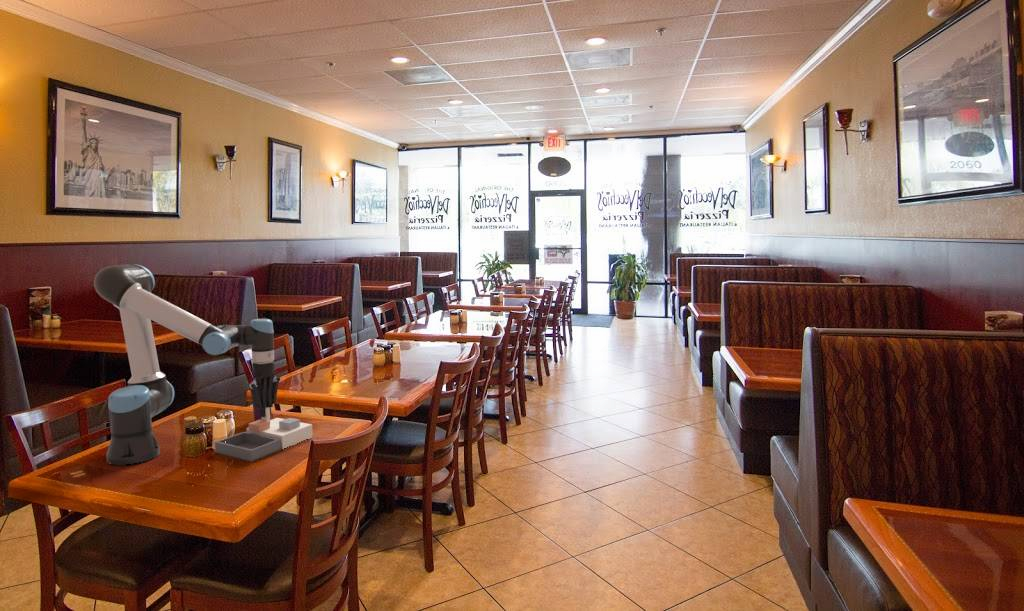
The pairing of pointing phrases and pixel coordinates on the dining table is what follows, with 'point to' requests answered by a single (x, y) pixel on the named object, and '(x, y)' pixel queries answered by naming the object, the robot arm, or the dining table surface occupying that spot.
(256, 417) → the cup
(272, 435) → the raised board
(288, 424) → the slate tile
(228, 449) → the box
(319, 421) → the dining table surface
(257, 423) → the terracotta tile
